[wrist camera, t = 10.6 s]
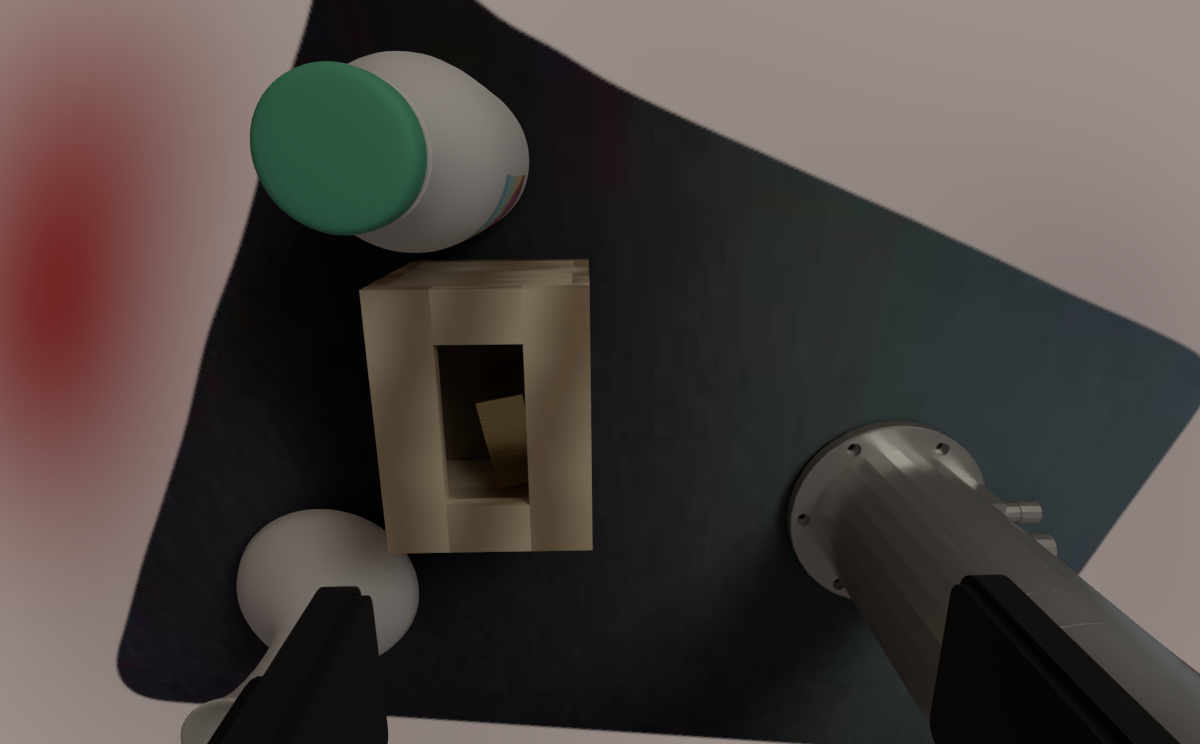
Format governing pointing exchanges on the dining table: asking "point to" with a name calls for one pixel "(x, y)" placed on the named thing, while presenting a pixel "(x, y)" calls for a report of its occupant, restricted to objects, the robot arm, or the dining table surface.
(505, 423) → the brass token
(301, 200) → the milk bottle
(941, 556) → the robot arm
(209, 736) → the flower in vase
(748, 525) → the dining table surface
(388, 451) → the box
